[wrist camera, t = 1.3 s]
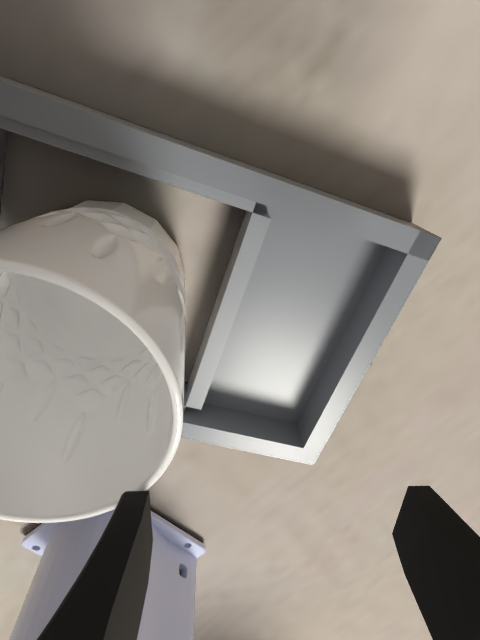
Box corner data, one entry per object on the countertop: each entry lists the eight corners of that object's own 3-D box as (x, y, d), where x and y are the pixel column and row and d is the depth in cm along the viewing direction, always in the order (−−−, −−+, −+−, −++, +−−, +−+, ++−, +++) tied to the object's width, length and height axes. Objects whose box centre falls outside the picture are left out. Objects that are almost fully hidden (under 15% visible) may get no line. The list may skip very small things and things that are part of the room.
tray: (412, 223, 18) (441, 238, 16) (303, 431, 23) (313, 465, 21) (-34, 63, 14) (-81, 51, 12) (-43, 353, 20) (-77, 384, 17)
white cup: (148, 154, 16) (68, 195, 7) (223, 312, 20) (231, 471, 11) (-15, 228, 17) (-263, 344, 8) (84, 366, 21) (-15, 554, 12)
